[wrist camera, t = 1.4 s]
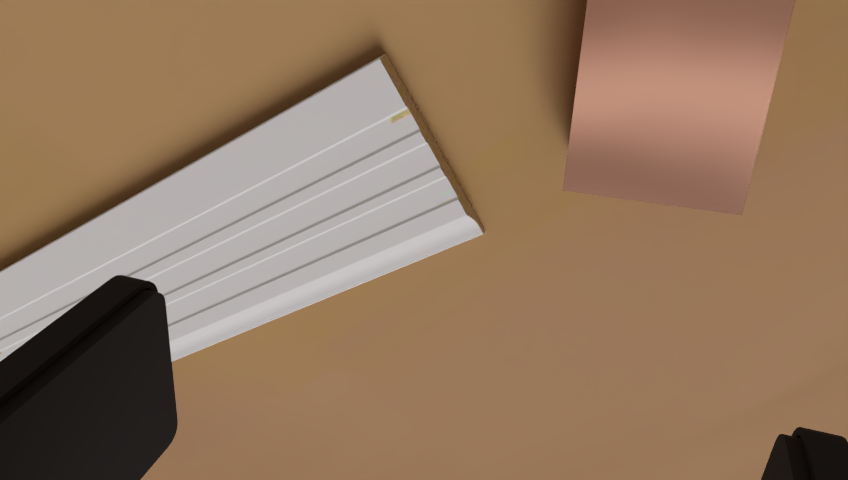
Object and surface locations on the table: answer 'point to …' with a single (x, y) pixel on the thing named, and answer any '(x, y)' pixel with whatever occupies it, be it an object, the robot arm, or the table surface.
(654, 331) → the table surface
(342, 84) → the baseboard
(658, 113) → the pink elongated block
